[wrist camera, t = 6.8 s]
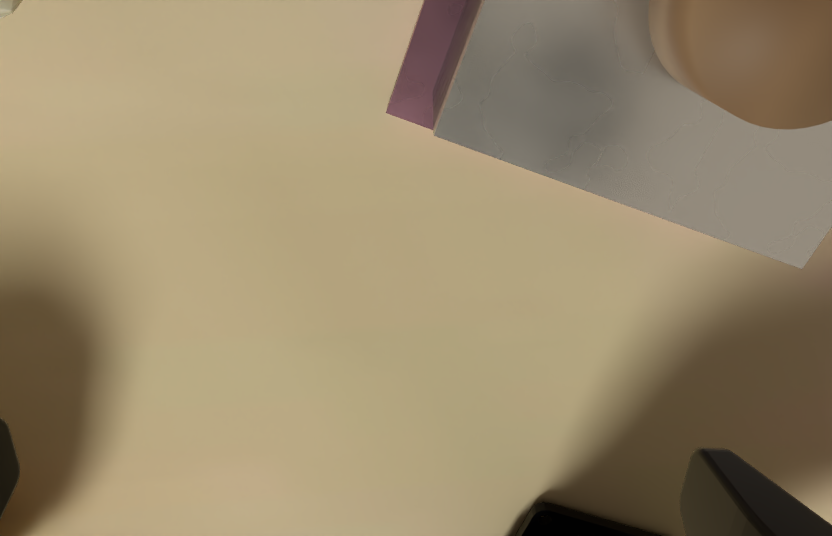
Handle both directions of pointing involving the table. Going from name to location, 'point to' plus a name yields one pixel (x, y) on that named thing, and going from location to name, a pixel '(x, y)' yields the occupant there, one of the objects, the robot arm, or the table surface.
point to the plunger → (750, 56)
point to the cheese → (8, 7)
